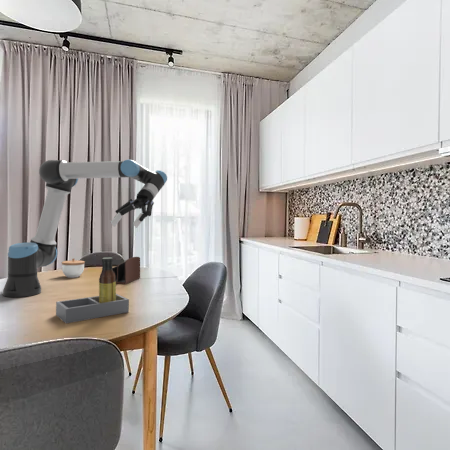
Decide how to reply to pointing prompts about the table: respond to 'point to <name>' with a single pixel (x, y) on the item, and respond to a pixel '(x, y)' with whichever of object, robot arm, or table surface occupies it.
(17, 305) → the table surface
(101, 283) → the sauce bottle
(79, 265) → the lidded sugar bowl
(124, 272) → the letter holder
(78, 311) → the slot caddy
